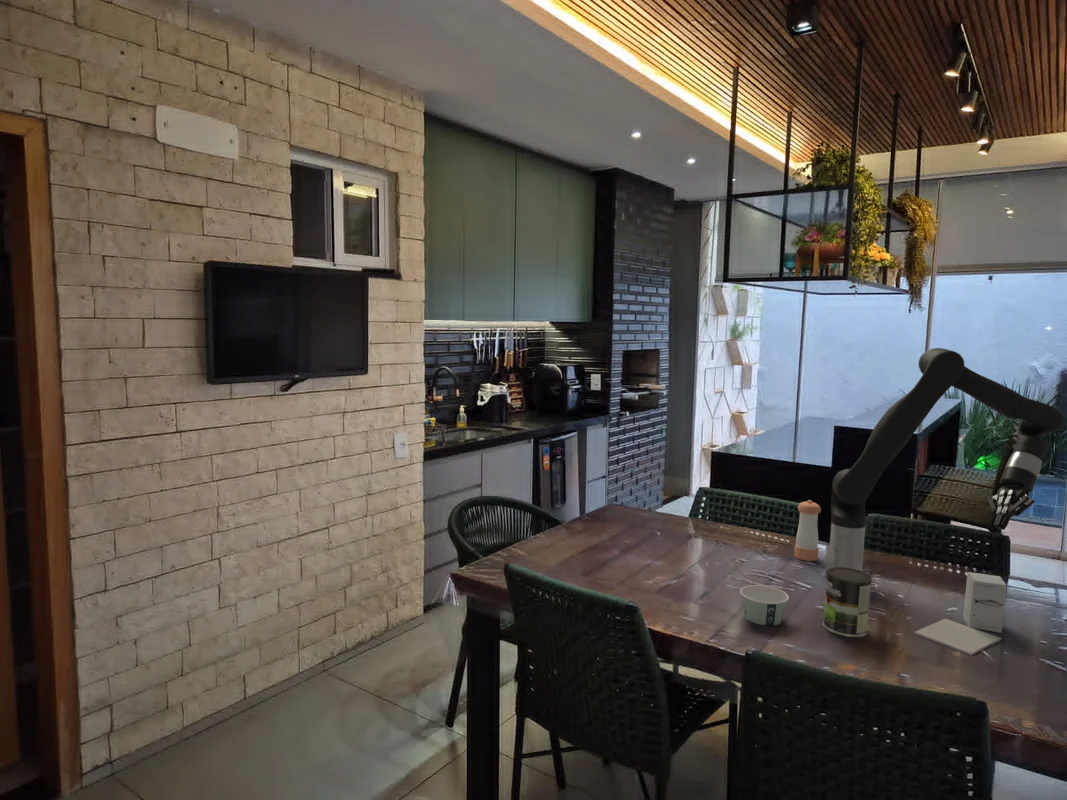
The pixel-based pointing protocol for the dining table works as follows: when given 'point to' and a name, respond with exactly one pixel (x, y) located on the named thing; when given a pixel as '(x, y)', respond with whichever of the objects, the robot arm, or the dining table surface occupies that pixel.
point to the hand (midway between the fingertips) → (998, 528)
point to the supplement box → (984, 602)
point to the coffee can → (847, 601)
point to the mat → (958, 636)
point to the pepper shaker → (807, 532)
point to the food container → (763, 604)
